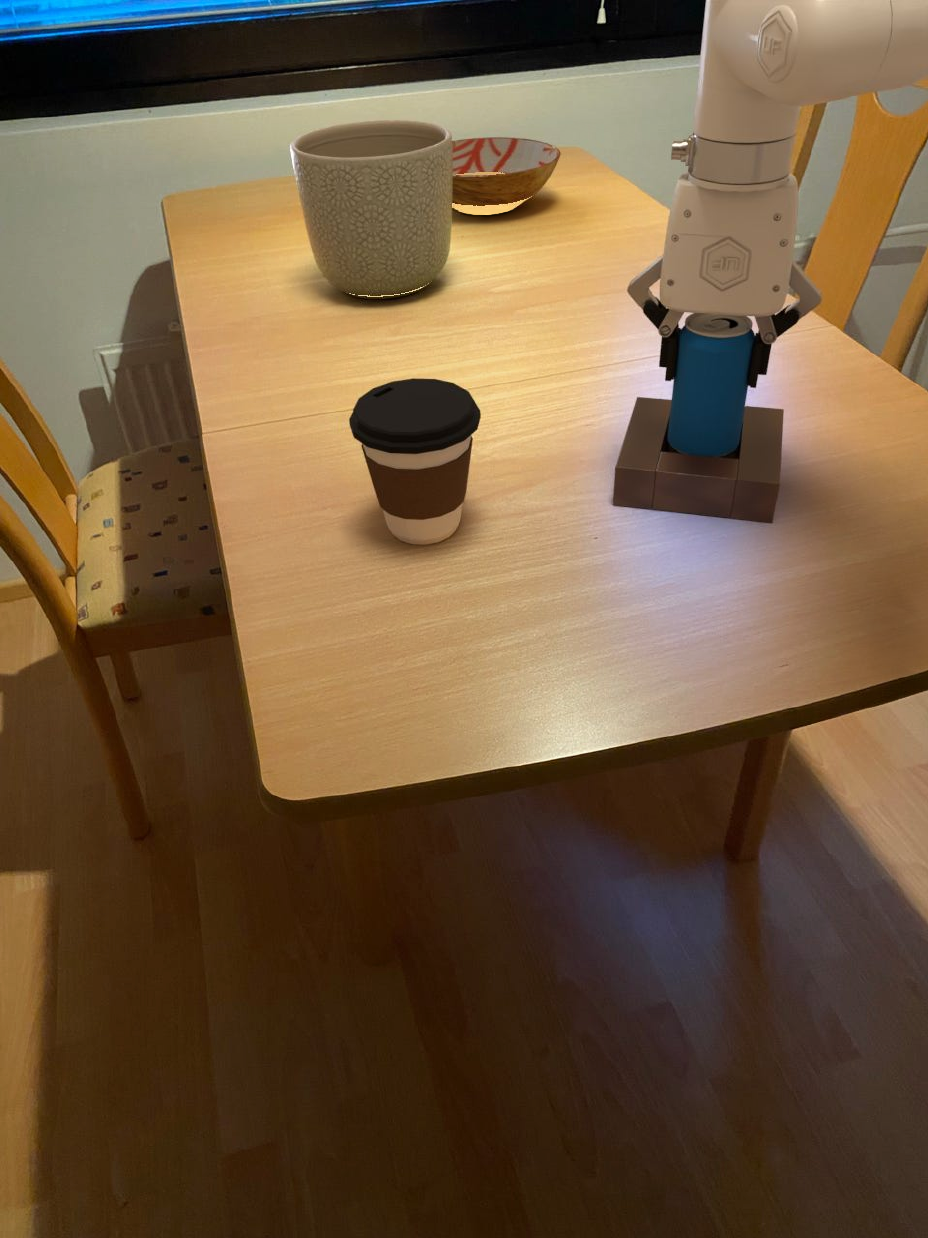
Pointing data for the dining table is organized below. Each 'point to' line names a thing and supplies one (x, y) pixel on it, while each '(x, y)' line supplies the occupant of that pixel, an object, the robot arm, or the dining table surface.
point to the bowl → (500, 169)
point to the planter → (377, 203)
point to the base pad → (700, 467)
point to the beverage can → (710, 384)
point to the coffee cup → (418, 454)
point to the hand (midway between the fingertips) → (711, 376)
